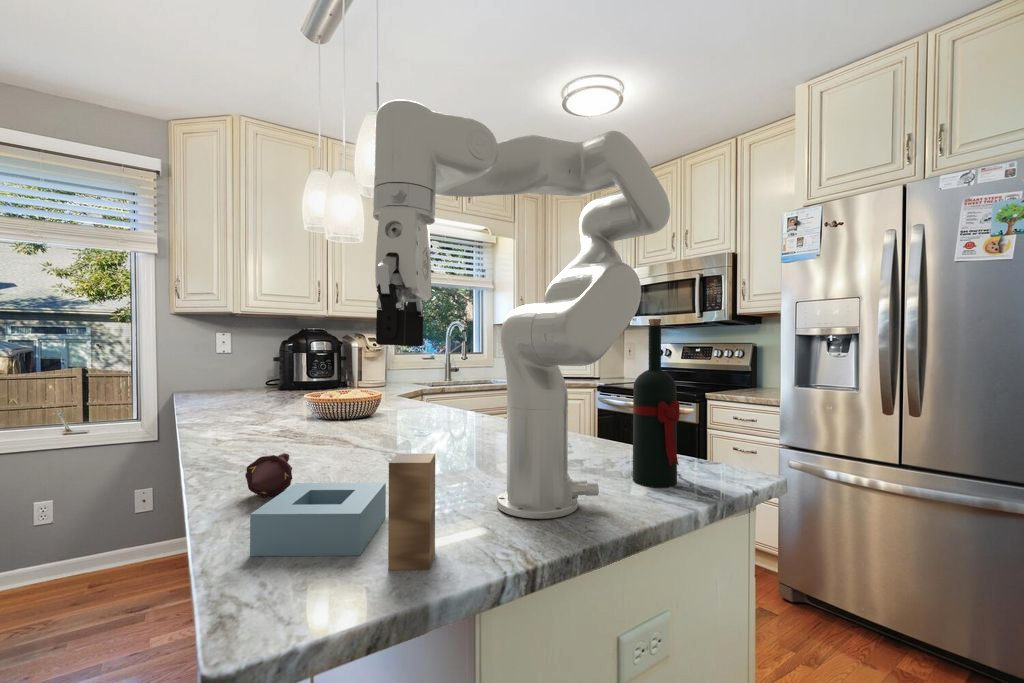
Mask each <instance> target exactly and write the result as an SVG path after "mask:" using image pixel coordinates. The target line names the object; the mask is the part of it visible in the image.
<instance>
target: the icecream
mask: <svg viewBox="0 0 1024 683" xmlns="http://www.w3.org/2000/svg"><path fill="white" fill-rule="evenodd" d="M289 460H290V454H289V453H286V452H283V453H281V454H279V455H274V454H273V455H265V456H264V455H263V456H260V457H258V458H257V459H255V460H254V461H253V462H251V463H250V464H248V465H247V467H246V473H245V475H244V476H245V479H246V483H247V488H248V490H249V491H250V492H251V493H253V494H256V495H258V496H259V497H261V498H273V497H274V498H275V497H276V496H278V495H279V494H281V493H282V492H284V491H285V490H286V489H288V488H289V487H291V483H292V480H293V473H292V471H293V467H292V466H291V464H290V463H289Z"/></svg>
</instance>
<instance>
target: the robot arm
mask: <svg viewBox="0 0 1024 683" xmlns="http://www.w3.org/2000/svg"><path fill="white" fill-rule="evenodd" d="M374 126H375V127H374V133H375V134H374V165H373V167H374V169H373V170H374V172H373V201H372V202H373V204H372V206H373V208H372V218H373V219H374V220H376V221H378V222H377V224H378V225H377V232H376V234H377V235H376V247H375V269H374V270H375V271H374V272H375V287H376V292H377V294H378V295H377V299H376V303H375V304H376V305H375V306H376V318H375V319H376V328H375V329H376V330H375V343H376V345H377V346H378V345H379V346H400V347H422V346H423V345H424V305H423V304H424V301H429V300H430V299H431V298H432V266H431V265H432V263H431V262H432V261H431V256H432V255H431V237H430V227H429V226H430V225H431V226H432V225H433V224H434V223H435V222H436V196H441V197H442V196H444V197H461V198H467V197H468V198H471V197H472V198H473V197H490V196H516V195H523V194H535V195H536V194H538V195H552V196H562V197H563V196H564V197H581V196H586V195H591V194H594V193H597V192H601V191H605V190H609V189H612V188H615V187H617V188H618V189H619V191H616V192H612V193H607V194H605V195H602V196H599V197H597V198H594V199H593V200H590V202H588V203H587V204H586V205H585V206H584V208H583V209H582V211H581V213H580V217H579V220H578V221H579V222H578V223H579V224H578V226H579V236H580V245H581V246H580V252H579V253H578V255H576V257H575V258H574V259H573V260H571V262H570V263H568V265H567V266H565V267H564V269H563V270H561V272H559V273H558V274H557V276H555V277H554V278H553V280H551V282H550V284H549V285H548V287H547V289H546V291H545V293H544V294H545V296H544V302H534V303H533V302H532V303H528V304H524V305H520V306H518V307H516V308H515V309H513V310H511V311H510V312H509V313H508V315H506V316H505V318H504V320H503V322H502V325H501V329H500V344H501V349H502V354H503V359H504V366H505V372H506V401H507V402H506V490H505V491H503V492H501V493H500V494H498V495H497V497H496V506H497V508H498V509H499V510H500V511H501V512H503V513H505V514H507V515H509V516H513V517H518V518H523V519H533V520H534V519H535V520H538V519H539V520H544V519H545V520H546V519H555V518H561V517H564V516H568V515H570V514H573V513H574V512H575V511H576V510H577V509H578V503H579V502H578V501H579V500H578V497H579V496H586V497H598V496H599V489H600V488H599V483H598V482H588V480H573V478H571V477H570V475H569V472H568V465H569V464H568V463H569V462H568V460H569V459H568V456H569V455H568V454H569V453H568V452H569V451H568V450H569V449H568V447H569V445H568V443H569V442H568V438H569V437H568V436H569V435H568V434H569V433H568V432H569V426H568V425H569V424H568V423H569V422H568V421H569V420H568V418H569V416H568V414H569V411H568V409H569V396H568V395H569V394H568V388H567V385H566V384H567V383H566V381H565V379H564V376H563V373H562V371H561V369H560V366H563V367H564V366H565V367H584V366H589V365H592V364H594V363H596V362H598V361H599V360H600V359H601V358H602V357H603V356H604V355H605V354H606V353H607V352H608V351H609V350H610V348H612V346H613V345H614V343H615V342H616V341H617V340H618V338H619V337H620V335H621V334H622V333H623V332H624V331H625V329H626V328H627V326H629V324H630V323H631V322H632V320H633V318H634V317H635V316H636V314H637V312H638V309H639V306H640V303H641V298H642V284H641V281H640V278H639V275H638V273H637V272H636V271H635V269H634V268H632V267H631V266H630V265H629V264H627V263H625V262H623V260H622V258H621V256H620V254H619V253H618V251H617V249H616V248H615V242H617V241H623V240H628V239H632V238H638V237H644V236H648V235H649V236H650V235H652V234H656V233H658V232H659V231H662V230H663V229H664V228H665V227H666V225H667V224H668V222H669V220H670V216H671V215H670V214H671V205H670V201H669V198H668V195H667V193H666V190H665V189H664V187H663V185H662V184H661V182H660V180H659V178H658V177H657V176H656V174H655V172H654V171H653V169H652V168H651V166H650V165H649V163H648V162H647V160H646V158H645V157H644V155H643V154H642V152H641V151H640V150H639V149H638V147H637V146H636V144H634V142H633V141H632V140H631V139H630V138H629V137H628V136H626V134H624V133H623V132H621V131H618V130H609V131H606V132H604V133H602V134H599V135H596V136H593V137H591V138H588V139H585V140H583V141H578V142H573V141H569V140H563V139H562V140H561V139H556V138H551V137H547V136H541V135H535V134H532V135H531V134H530V135H524V136H523V135H522V136H518V137H513V138H511V139H506V140H503V141H500V142H498V141H497V139H496V137H495V135H494V133H493V132H492V131H491V129H489V127H487V126H486V125H485V124H483V123H482V122H481V121H478V120H476V119H473V118H469V117H466V116H460V115H453V114H448V113H443V112H438V111H434V110H431V109H430V108H429V107H428V106H426V105H424V104H422V103H420V102H418V101H414V100H409V99H393V100H389V101H387V102H384V103H382V105H380V107H378V110H377V111H376V115H375V124H374Z"/></svg>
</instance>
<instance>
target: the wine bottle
mask: <svg viewBox="0 0 1024 683" xmlns="http://www.w3.org/2000/svg"><path fill="white" fill-rule="evenodd" d="M661 321H662V319H661V318H650V319H648V324H649V325H648V369H646V370H645V371H643V372H642V373H641V374H639V375H638V376H637V377H636V379H635V381H634V383H633V396H632V400H633V403H632V405H633V407H632V409H633V410H632V411H633V412H632V417H633V418H632V481H633V482H634V484H637V485H640V486H642V487H647V488H653V489H669V488H672V487H676V486H677V484H678V466H679V465H680V464H679V461H678V430H677V429H678V428H677V427H678V422H679V420H680V403H679V400H678V399H677V384H676V382H675V381H676V380H674V378H673V377H672V375H670V374H669V373H667V372H666V371H665V370H662V325H661V323H662V322H661Z"/></svg>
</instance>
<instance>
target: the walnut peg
mask: <svg viewBox="0 0 1024 683" xmlns="http://www.w3.org/2000/svg"><path fill="white" fill-rule="evenodd" d="M387 519H388V532H387V533H388V537H387V538H388V547H387V548H388V550H387V551H388V552H387V554H388V560H387V564H388V565H387V566H388V567H387V568H388V569H387V570H388V571H426V570H427V571H430V570H431V566H432V564H433V559H434V557H435V554H436V453H396V455H395V456H393V457H392V458H391V460H390V461H389V462H388V518H387Z"/></svg>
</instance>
